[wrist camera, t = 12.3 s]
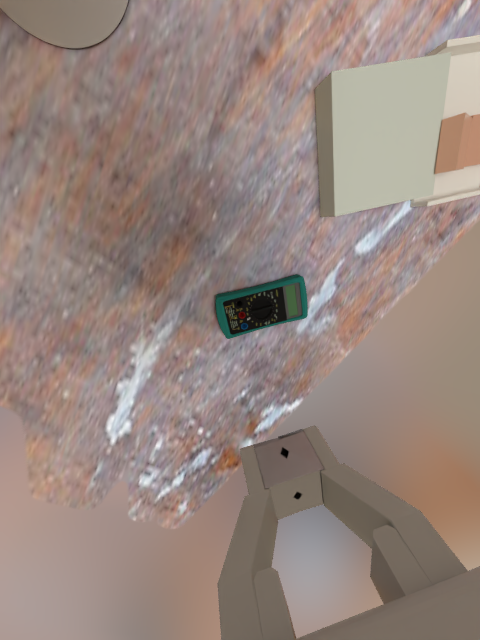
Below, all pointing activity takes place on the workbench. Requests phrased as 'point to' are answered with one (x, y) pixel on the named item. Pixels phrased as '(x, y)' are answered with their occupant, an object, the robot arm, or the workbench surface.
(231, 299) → the digital multimeter
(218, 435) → the workbench surface
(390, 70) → the board
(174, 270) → the workbench surface
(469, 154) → the tile
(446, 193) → the tray
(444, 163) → the tile
